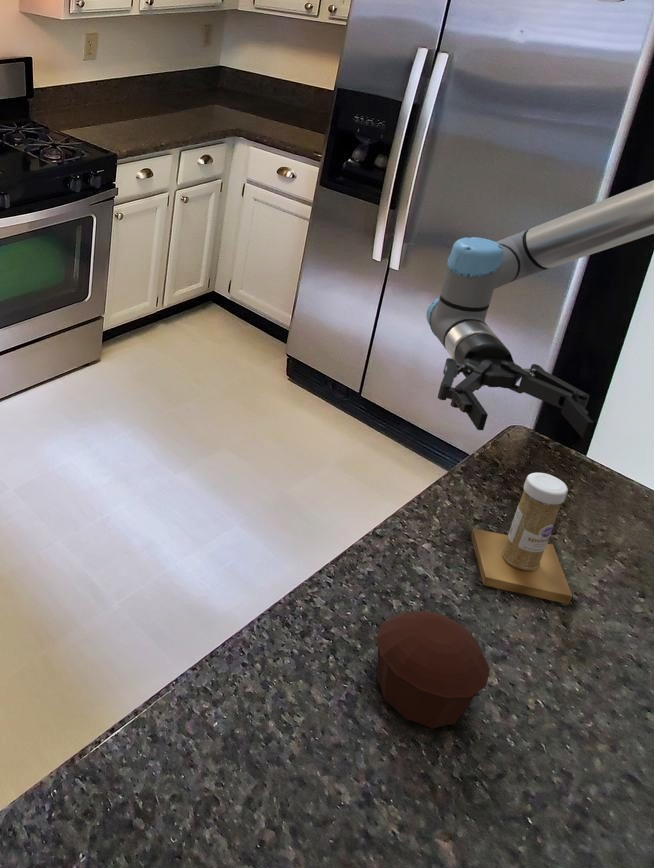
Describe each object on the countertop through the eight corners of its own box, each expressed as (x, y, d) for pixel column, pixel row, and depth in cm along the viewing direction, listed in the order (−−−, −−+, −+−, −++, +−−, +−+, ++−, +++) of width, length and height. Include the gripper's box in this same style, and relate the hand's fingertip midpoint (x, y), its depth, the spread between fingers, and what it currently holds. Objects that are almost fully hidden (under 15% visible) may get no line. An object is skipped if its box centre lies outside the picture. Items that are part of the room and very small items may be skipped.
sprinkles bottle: (528, 577, 107) (557, 497, 101) (493, 556, 110) (520, 478, 104) (546, 563, 109) (575, 485, 103) (511, 543, 112) (538, 466, 107)
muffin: (429, 756, 86) (451, 692, 81) (344, 678, 95) (360, 617, 90) (496, 708, 91) (520, 646, 87) (409, 638, 100) (427, 579, 95)
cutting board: (550, 552, 113) (553, 544, 112) (569, 604, 104) (572, 596, 104) (470, 535, 116) (473, 528, 115) (483, 585, 107) (485, 577, 107)
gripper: (555, 378, 131) (624, 456, 112) (393, 367, 135) (434, 440, 116) (568, 338, 127) (642, 411, 108) (402, 327, 131) (445, 396, 112)
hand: (535, 426), depth 112 cm, fingers open, 13 cm apart
